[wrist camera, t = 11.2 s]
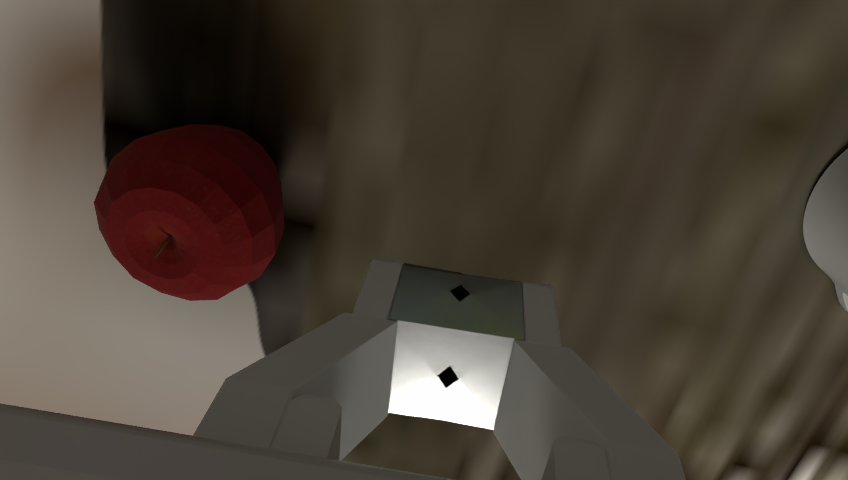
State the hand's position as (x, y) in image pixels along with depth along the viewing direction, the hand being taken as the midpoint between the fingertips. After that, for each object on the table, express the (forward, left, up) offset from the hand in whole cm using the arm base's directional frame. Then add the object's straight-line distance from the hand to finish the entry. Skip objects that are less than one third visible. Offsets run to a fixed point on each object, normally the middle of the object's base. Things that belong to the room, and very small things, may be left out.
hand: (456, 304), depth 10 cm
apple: (+18, +15, -34) cm, 42 cm away
